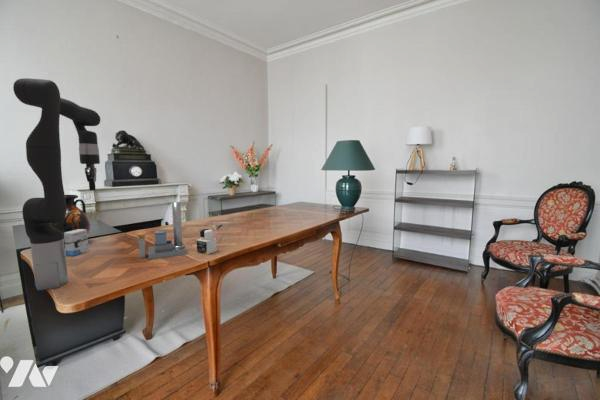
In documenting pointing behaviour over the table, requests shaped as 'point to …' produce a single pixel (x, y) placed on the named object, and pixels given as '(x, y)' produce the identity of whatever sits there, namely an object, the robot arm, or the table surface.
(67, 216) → the amphora vase
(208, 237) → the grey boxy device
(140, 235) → the wedge pin
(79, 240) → the ink box
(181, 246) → the grey base with post
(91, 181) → the robot arm
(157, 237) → the blue-grey rectangular block
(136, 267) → the table surface
